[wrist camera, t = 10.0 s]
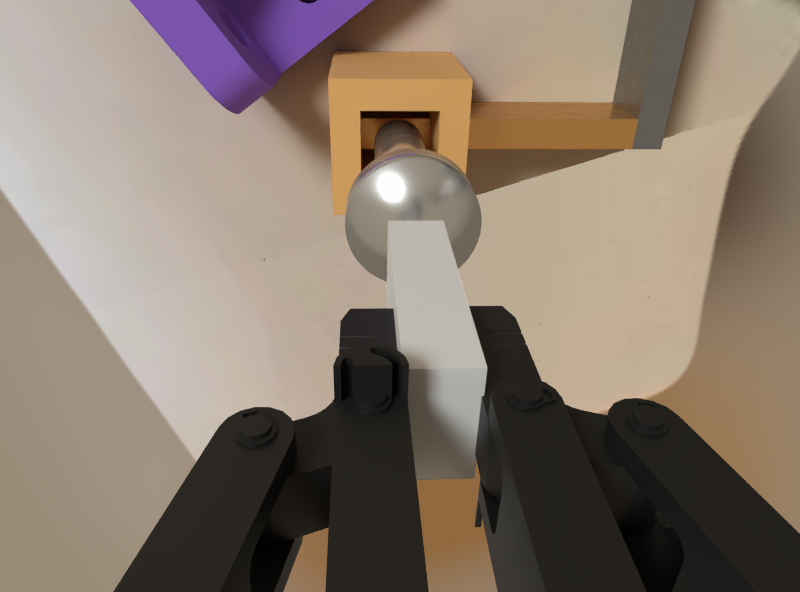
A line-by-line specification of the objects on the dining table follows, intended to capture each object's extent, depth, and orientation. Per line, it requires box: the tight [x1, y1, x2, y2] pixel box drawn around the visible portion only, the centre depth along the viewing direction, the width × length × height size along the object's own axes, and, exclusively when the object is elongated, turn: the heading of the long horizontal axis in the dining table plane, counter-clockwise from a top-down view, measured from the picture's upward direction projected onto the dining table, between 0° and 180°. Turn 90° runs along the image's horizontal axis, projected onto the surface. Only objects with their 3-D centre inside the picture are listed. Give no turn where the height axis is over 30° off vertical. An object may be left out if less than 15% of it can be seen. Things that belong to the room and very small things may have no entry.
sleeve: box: [328, 51, 473, 215], centre depth 30 cm, size 6×6×7 cm
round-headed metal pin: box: [345, 119, 481, 281], centre depth 24 cm, size 4×4×9 cm
